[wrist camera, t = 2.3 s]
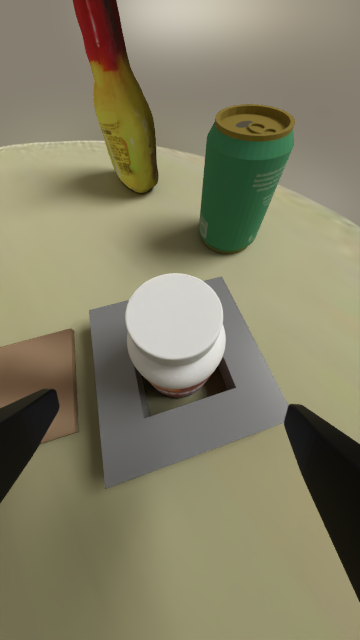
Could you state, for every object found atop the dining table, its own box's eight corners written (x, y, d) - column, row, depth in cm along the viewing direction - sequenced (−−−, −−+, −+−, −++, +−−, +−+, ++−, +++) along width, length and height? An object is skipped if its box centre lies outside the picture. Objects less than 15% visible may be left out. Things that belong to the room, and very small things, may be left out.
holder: (276, 417, 16) (295, 418, 14) (119, 475, 15) (105, 489, 12) (217, 292, 22) (221, 276, 20) (101, 323, 21) (89, 310, 18)
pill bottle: (147, 401, 17) (98, 386, 7) (147, 339, 20) (111, 266, 10) (214, 395, 17) (256, 371, 7) (204, 334, 20) (225, 257, 10)
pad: (78, 431, 16) (74, 432, 15) (-49, 473, 15) (-57, 475, 14) (73, 330, 20) (71, 328, 20) (-25, 356, 19) (-31, 355, 19)
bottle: (105, 174, 35) (24, -76, 17) (135, 163, 36) (89, -75, 19) (136, 205, 30) (69, -90, 13) (168, 191, 32) (149, -87, 14)
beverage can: (225, 211, 29) (249, 96, 19) (265, 238, 27) (321, 119, 16) (187, 233, 27) (190, 117, 16) (226, 265, 24) (260, 149, 14)
